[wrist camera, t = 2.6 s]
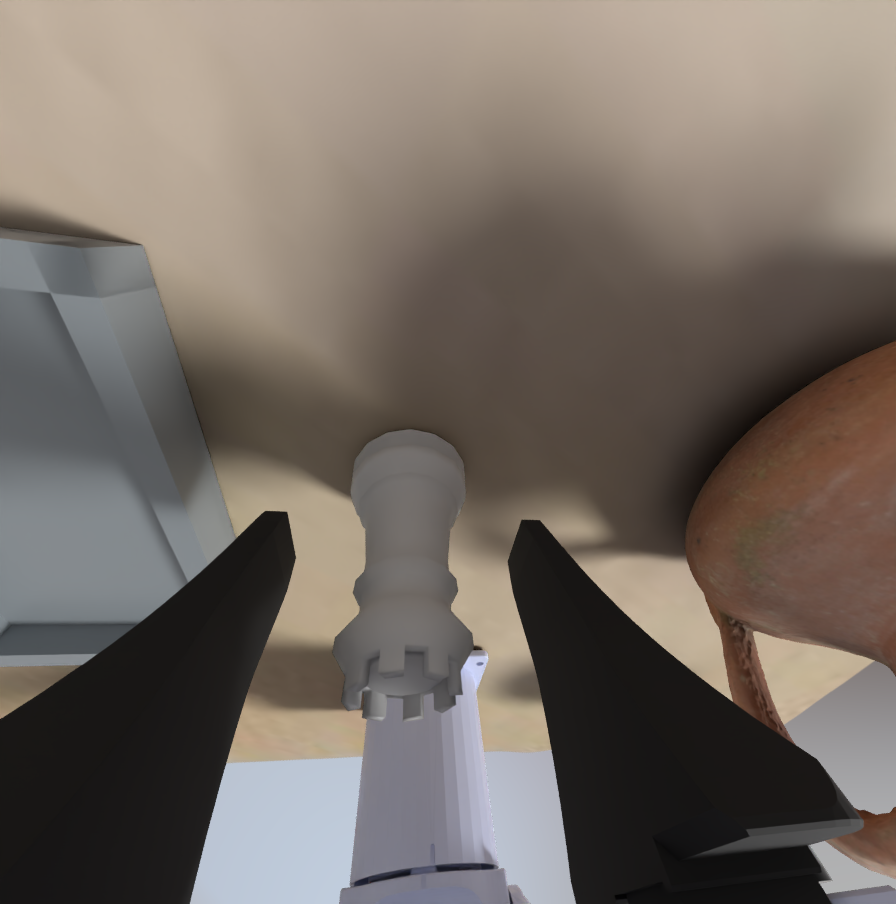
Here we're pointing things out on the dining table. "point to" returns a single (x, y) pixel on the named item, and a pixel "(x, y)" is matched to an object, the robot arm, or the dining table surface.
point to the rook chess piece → (405, 578)
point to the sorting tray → (93, 451)
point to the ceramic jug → (808, 544)
